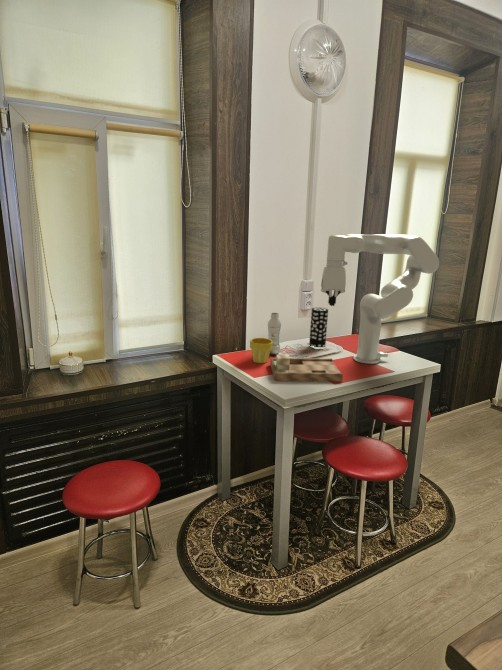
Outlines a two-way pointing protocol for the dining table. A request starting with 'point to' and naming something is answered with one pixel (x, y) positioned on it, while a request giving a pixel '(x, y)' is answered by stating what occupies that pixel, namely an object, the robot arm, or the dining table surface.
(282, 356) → the block
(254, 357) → the plant pot
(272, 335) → the plastic bottle
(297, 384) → the dining table surface
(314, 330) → the spotted tube
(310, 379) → the box
